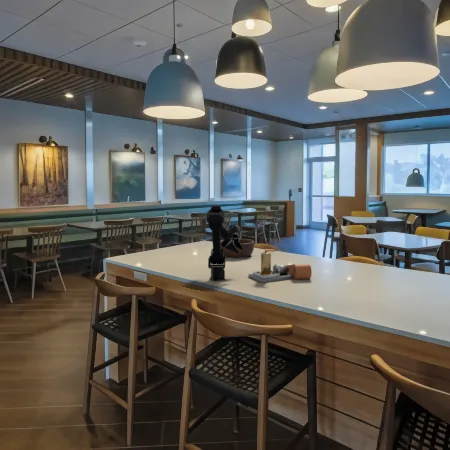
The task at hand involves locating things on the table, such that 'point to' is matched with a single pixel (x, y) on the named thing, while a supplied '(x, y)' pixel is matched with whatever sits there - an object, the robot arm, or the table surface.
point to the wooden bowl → (247, 249)
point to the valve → (266, 263)
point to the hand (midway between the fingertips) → (240, 251)
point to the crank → (300, 271)
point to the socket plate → (277, 275)
